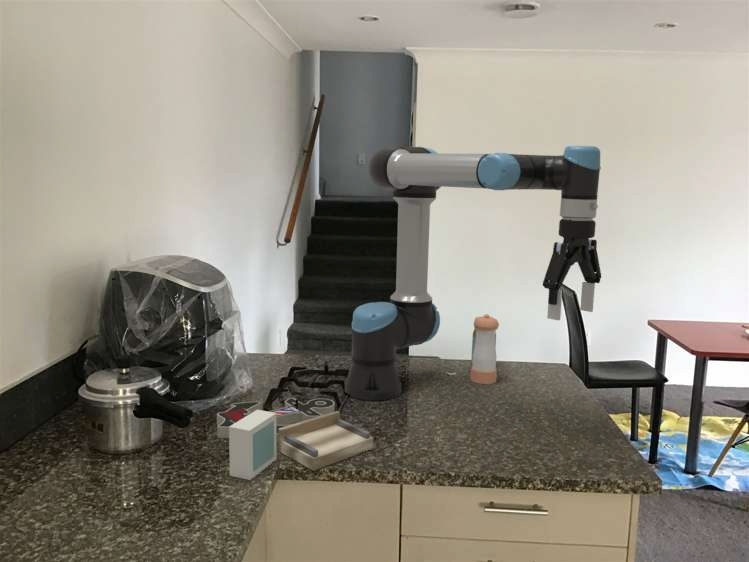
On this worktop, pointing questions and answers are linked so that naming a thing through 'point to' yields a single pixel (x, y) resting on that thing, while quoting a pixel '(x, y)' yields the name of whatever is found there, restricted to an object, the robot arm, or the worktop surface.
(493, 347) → the salt shaker
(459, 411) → the worktop surface
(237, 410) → the decorative sign
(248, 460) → the white box
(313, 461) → the tray
